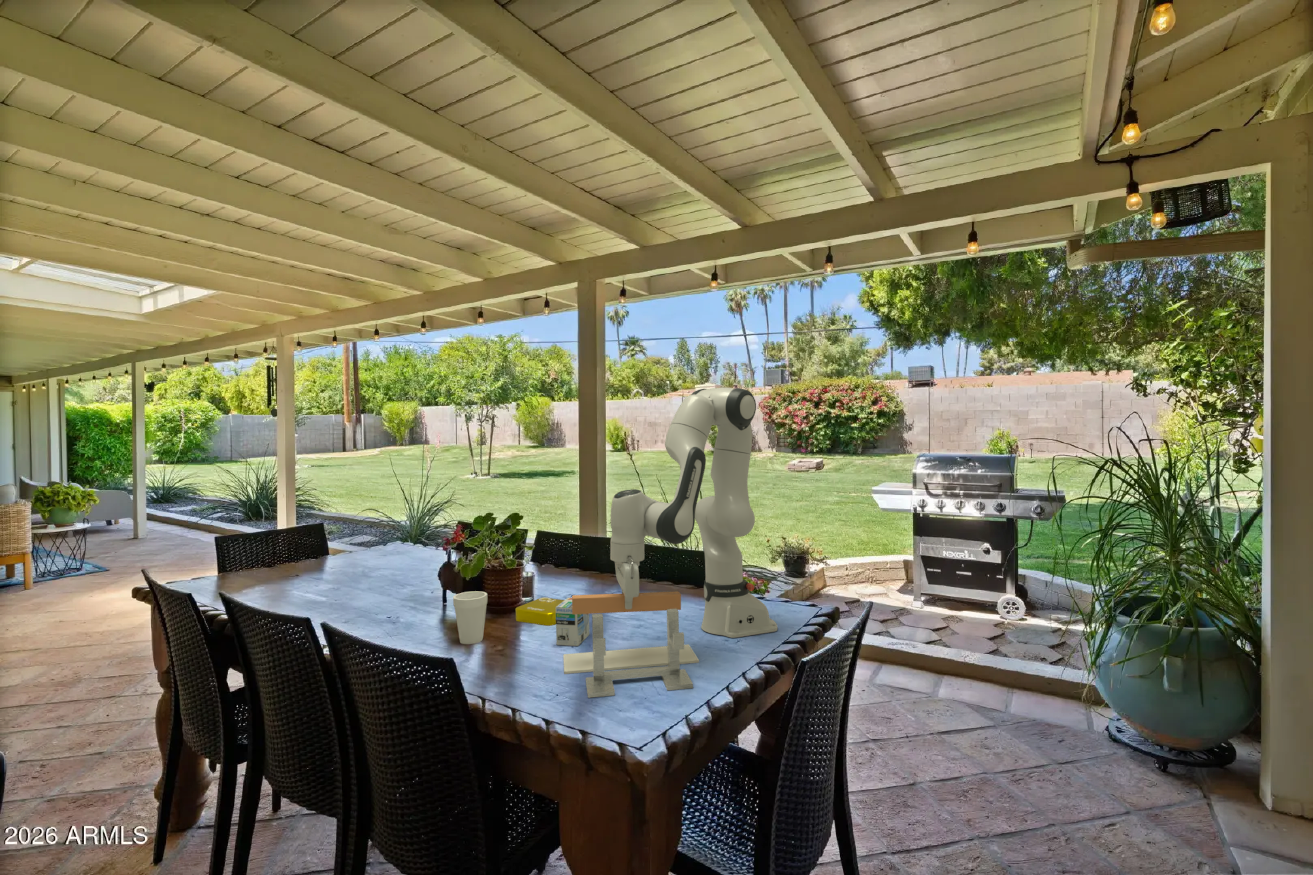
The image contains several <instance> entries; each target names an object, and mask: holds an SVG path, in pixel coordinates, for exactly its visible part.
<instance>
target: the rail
mask: <svg viewBox="0 0 1313 875" xmlns="http://www.w3.org/2000/svg"><path fill="white" fill-rule="evenodd" d="M571 598H572V614H589V615H590V614H591V615H592V614H614V613H615V614H616V613H637V612H638V613H639V612H641V613H642V612H658V611H661V612H663V611H667V609H677V610H678V611H681V610H682V594H681V593H680V591H677V590H675V591H657V592H655V591H654V592H653V591H652V592H650V591H649V592H639V596H638V597H633V601H632V609H625V596H624V594H623V593H622V592H621V593H601V594H575V595H574V594H573V595H572V596H571Z"/></svg>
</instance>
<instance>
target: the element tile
mask: <svg viewBox="0 0 1313 875" xmlns="http://www.w3.org/2000/svg"><path fill="white" fill-rule="evenodd" d="M564 600H565V599H560V598H559V599H558V598H552V597H551V598H550V597H543V596H542V597H539V598H537V599H535V600H532V601H530V602H527V603H525V604H522V605H520V606H517V607H516V608H515V621H516V622H519V623H524V624H525V623H527V624H532V625H539V626H543V627H544V626H545V627H546V626H547V627H551V626H556V607H557V606H558V605H559V604H561V603H562V602H563V601H564Z"/></svg>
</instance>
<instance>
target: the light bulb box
mask: <svg viewBox="0 0 1313 875" xmlns="http://www.w3.org/2000/svg"><path fill="white" fill-rule="evenodd" d="M563 600H564V601H563V602H562V603H561V604H559V605H558V606H557V607H556V625H555V629H556V630H555V632H556V633H555V637H556V640H555V641H556V645H557V646H572V647H579V646H580V645H581V644H582V643H583V642H584V641H585V640H586V639H587V637H589V635H590V614H572V597H567V598H565V599H563Z"/></svg>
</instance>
